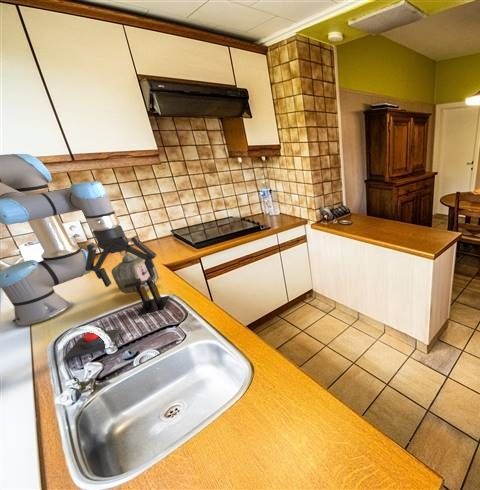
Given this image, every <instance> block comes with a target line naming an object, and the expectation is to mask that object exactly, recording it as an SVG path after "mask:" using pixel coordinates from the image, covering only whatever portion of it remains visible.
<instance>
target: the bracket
mask: <svg viewBox="0 0 480 490" xmlns="http://www.w3.org/2000/svg"><path fill="white" fill-rule="evenodd" d="M140 281H141V278H140V279H137V280H136V282H140ZM146 282H147V285H148V287H149V292H150V294H151V296H152V299H150V296H149V294H148V292H147V291H146V290H145V287H141V286H140V285H139V286H135V287H136V289H137V291H138V292H137V293H139V294H138V296H139V297H140V300H141V302H142V304H143V306H142V307H141V308H140V310H139V312H138V313H137V317H139V316H140V317H141V316H144V315H148V314H152V313H155V312H159V311H160V312H161V311H163V310H164V309H165V307H166V305H167V303H168V301H169V299H170V295H165V296H161V294H160V292H159V289H158V286H156V284H157V283H155V282H154V280H153V277H150V276H149V278H148V279H147V281H146Z"/></svg>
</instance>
